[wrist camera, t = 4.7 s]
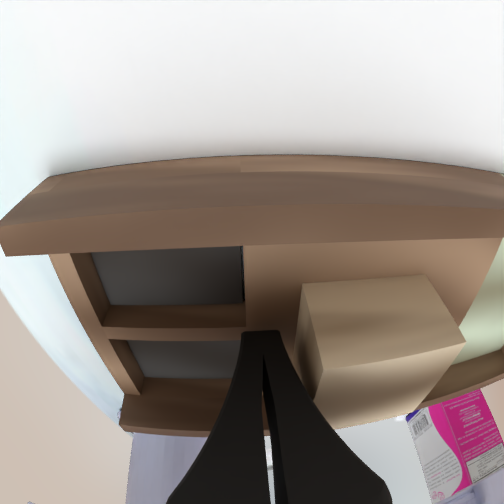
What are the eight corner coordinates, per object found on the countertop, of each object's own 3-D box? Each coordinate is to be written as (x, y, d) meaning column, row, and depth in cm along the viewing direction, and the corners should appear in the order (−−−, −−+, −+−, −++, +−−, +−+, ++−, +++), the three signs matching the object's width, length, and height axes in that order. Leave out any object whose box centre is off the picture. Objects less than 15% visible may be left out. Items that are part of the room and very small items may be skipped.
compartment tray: (493, 340, 17) (512, 374, 14) (134, 381, 17) (125, 431, 14) (567, 189, 10) (604, 220, 7) (48, 176, 9) (-7, 227, 6)
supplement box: (446, 406, 24) (476, 495, 15) (403, 417, 24) (430, 517, 14) (477, 375, 21) (516, 474, 12) (433, 387, 20) (472, 503, 11)
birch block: (390, 352, 13) (412, 412, 11) (291, 365, 13) (302, 434, 10) (424, 274, 11) (466, 341, 8) (302, 283, 10) (323, 369, 8)
